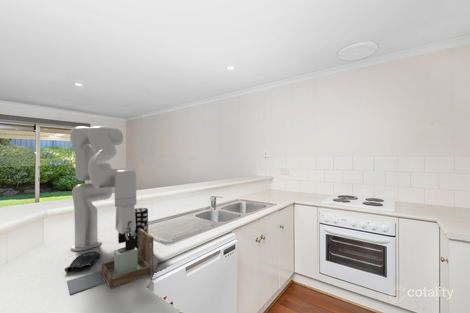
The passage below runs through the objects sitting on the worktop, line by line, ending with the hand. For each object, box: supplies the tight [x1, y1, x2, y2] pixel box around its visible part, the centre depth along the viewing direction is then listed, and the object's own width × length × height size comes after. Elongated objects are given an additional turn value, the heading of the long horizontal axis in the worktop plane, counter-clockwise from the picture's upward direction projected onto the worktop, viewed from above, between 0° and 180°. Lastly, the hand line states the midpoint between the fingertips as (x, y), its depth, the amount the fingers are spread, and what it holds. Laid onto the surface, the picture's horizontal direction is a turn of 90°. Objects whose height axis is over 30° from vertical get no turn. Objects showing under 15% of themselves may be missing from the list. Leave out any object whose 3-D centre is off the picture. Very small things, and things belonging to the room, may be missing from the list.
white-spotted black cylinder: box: [128, 207, 149, 249], centre depth 101 cm, size 8×8×20 cm
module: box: [113, 246, 139, 277], centre depth 83 cm, size 5×7×10 cm
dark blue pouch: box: [64, 250, 102, 275], centre depth 91 cm, size 9×6×15 cm
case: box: [101, 228, 155, 290], centre depth 83 cm, size 16×15×14 cm
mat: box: [66, 270, 106, 296], centre depth 77 cm, size 10×10×1 cm
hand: (126, 245), depth 83 cm, fingers open, 9 cm apart
